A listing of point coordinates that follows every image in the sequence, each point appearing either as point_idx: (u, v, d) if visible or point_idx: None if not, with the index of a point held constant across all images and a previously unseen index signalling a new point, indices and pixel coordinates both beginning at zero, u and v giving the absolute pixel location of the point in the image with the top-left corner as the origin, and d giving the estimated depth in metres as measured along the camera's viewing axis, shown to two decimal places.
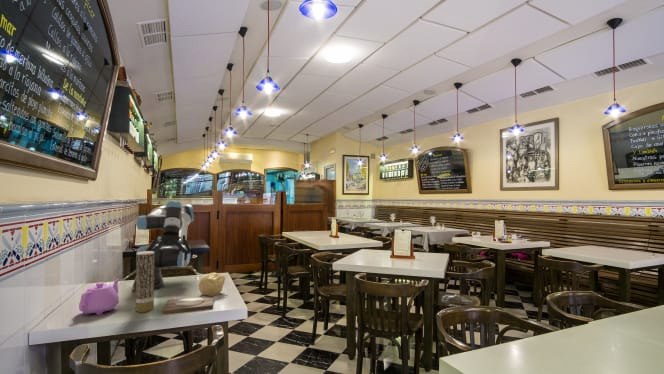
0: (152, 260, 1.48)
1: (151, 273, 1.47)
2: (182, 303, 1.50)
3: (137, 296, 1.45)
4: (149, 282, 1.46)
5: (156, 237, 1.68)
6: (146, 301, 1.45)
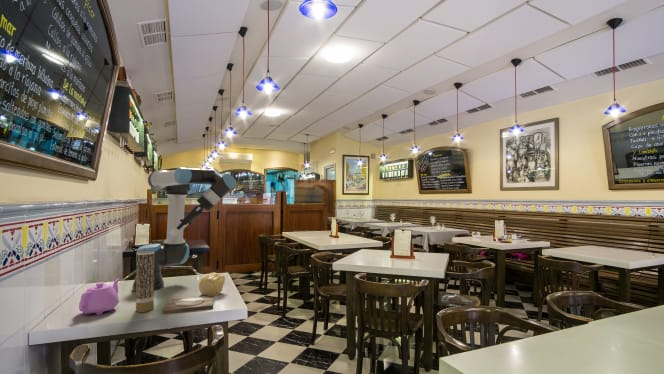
0: (152, 260, 1.48)
1: (151, 273, 1.47)
2: (182, 303, 1.50)
3: (137, 296, 1.45)
4: (149, 282, 1.46)
5: (200, 211, 1.54)
6: (146, 301, 1.45)
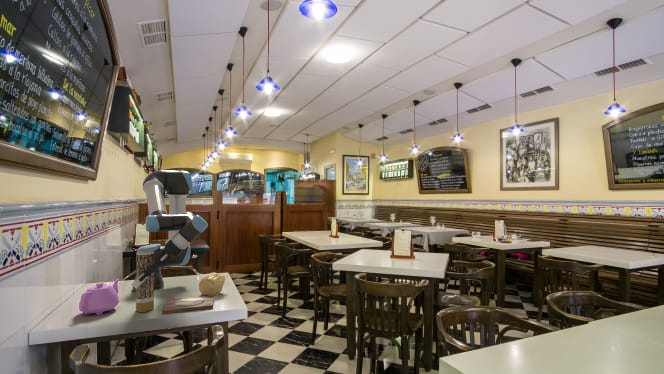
0: (152, 260, 1.48)
1: None
2: (182, 303, 1.50)
3: (137, 296, 1.45)
4: (149, 282, 1.46)
5: (164, 260, 1.45)
6: (146, 301, 1.45)
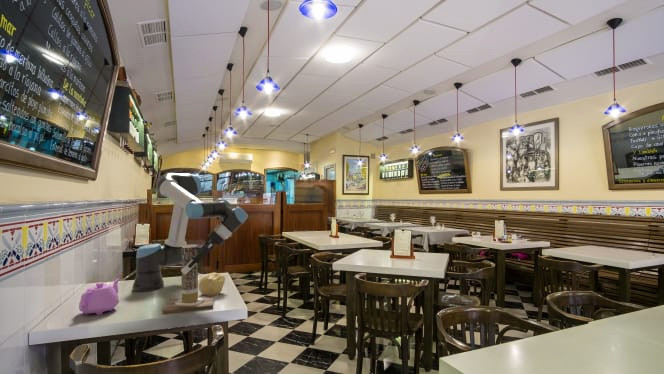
0: (196, 253, 1.53)
1: (196, 265, 1.53)
2: (182, 303, 1.50)
3: (183, 287, 1.50)
4: (194, 274, 1.52)
5: (211, 247, 1.51)
6: (192, 292, 1.51)
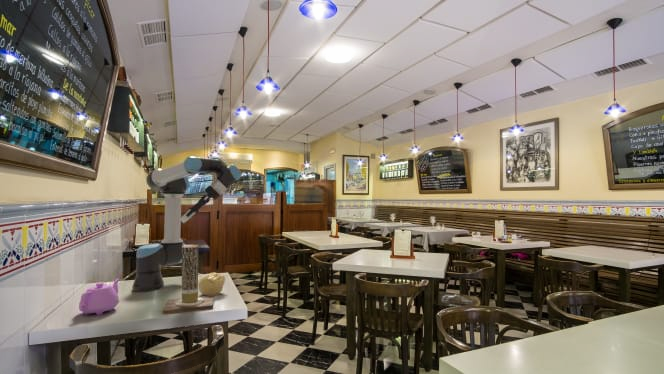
0: (197, 253, 1.53)
1: (196, 265, 1.53)
2: (182, 303, 1.50)
3: (183, 287, 1.50)
4: (195, 274, 1.52)
5: (207, 199, 1.64)
6: (192, 292, 1.51)
